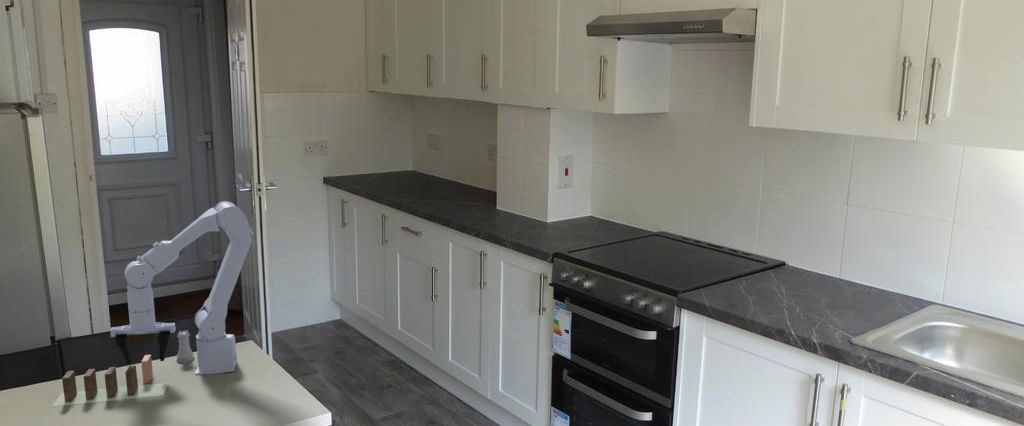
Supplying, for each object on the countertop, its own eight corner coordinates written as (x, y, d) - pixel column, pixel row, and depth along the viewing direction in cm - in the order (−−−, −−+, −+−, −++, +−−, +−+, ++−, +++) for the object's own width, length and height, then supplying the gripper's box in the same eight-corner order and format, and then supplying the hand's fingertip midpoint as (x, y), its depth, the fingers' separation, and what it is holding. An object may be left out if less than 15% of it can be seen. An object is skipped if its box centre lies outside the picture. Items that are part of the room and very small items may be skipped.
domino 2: (97, 392, 184) (95, 368, 183) (92, 399, 180) (90, 375, 178) (91, 392, 183) (88, 369, 182) (86, 400, 179) (83, 376, 178)
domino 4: (138, 388, 186) (135, 365, 185) (134, 395, 182) (131, 372, 181) (131, 388, 186) (129, 365, 185) (127, 396, 181) (125, 372, 180)
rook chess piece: (197, 357, 207) (194, 329, 205) (190, 363, 202) (188, 334, 201) (180, 357, 207) (178, 329, 205) (173, 363, 202) (171, 335, 201)
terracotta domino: (153, 376, 194) (151, 354, 193) (149, 383, 190) (147, 361, 188) (147, 377, 193) (145, 355, 192) (143, 384, 189) (141, 361, 188)
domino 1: (77, 394, 183) (74, 370, 182) (71, 401, 178) (68, 377, 177) (70, 394, 182) (67, 371, 181) (64, 402, 178) (62, 378, 177)
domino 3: (117, 390, 185) (115, 366, 184) (113, 397, 181) (111, 373, 180) (111, 390, 185) (109, 367, 183) (107, 398, 180) (104, 374, 179)
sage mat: (169, 383, 189) (169, 382, 189) (163, 396, 182) (163, 395, 182) (62, 394, 183) (62, 392, 183) (51, 407, 176) (51, 406, 176)
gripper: (105, 316, 182) (110, 369, 185) (170, 312, 186) (174, 364, 188) (112, 307, 189) (117, 359, 192) (175, 303, 193) (179, 354, 195)
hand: (146, 361), depth 190 cm, fingers open, 7 cm apart
